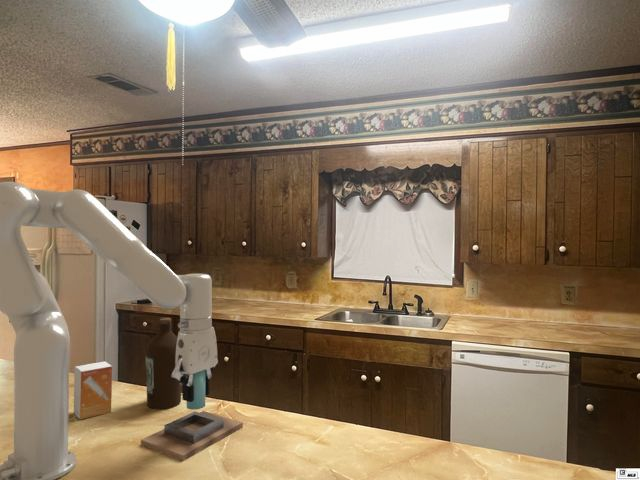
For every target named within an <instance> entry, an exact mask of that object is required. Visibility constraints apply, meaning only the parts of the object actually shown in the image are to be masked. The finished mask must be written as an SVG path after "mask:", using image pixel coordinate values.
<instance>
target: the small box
mask: <svg viewBox="0 0 640 480" xmlns="http://www.w3.org/2000/svg"><path fill="white" fill-rule="evenodd" d="M73 373H74V375H73V376H74V377H73V379H74V381H73V383H74V384H73V413H74V415H76V417H77V418H78V419H79V420H83V419H88V418H92V417H95V416H100V415H105V414H109V413H111V412H112V396H113V395H112V393H113V392H112V391H113V390H112V389H113V388H112V387H113V365H111V364H109V363H108V362H107V361H100V362H93V363H87V364H82V365H77V366H74V372H73Z"/></svg>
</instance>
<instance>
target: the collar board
mask: <svg viewBox="0 0 640 480" xmlns="http://www.w3.org/2000/svg"><path fill="white" fill-rule="evenodd" d="M243 423H244V422H242V421H239V420H236V419H233V418H229V417H225V416H223V415H218V414H215V413H212V412H209V411H206V410H202V411H200V412H198V411H196V410H195V411H192V412H191V413H189V414H186V415H184V416H182V417H179V418H178V419H175V420H173V421H171V422H168V423H166V424H164V425H163V426H164V427H163V428H162V429H161V430H159V431H157V432H154V433H152V434H149V435H148V436H146V437H143V438H141V439H140V445H141V446H143V447H146V448H148V449H150V450H153V451H156V452H159V453H161V454H164V455H167V456H169V457H172V458H174V459H177V460H180V461H182V462H183V461H185V460H187V459H189V458H191V457H193V456H194V455H196V454H197V453H200V452H201V451H203V450H205V449H206V448H208V447H210V446H212V445H214V444H215V443H217V442H218V441H220V440H222V439H225V438H226V437H227V436H230V435H231V434H232V433H235V432H237V431H238V430H239V429H242V428H243V427H244V426H243V425H244V424H243Z"/></svg>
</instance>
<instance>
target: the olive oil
mask: <svg viewBox="0 0 640 480" xmlns="http://www.w3.org/2000/svg"><path fill="white" fill-rule="evenodd" d="M158 330H159V331H158V333H156V335H155V336H154V337H152V338H151V340H150V341H149V342H148V344H147V346H146V349H145V356H144V358H145V372H146V373H145V376H146V379H145V380H146V406H147V407H148V408H150V409H152V410H167V409H170V408H174V407H176V406H178V405H180V404H181V402H182V384H180V382H179V381H178V380H177V379H175V378H173V377H172V376H171V375H172V373H173V371H174V369H175V366H176V363H175V359H176V345H177V338H178V335H176V334H175V333H173V331H172V318H171V317H160V318H159V323H158ZM181 374H182V372H181Z"/></svg>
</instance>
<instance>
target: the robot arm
mask: <svg viewBox="0 0 640 480" xmlns="http://www.w3.org/2000/svg"><path fill="white" fill-rule="evenodd" d="M22 227H36V228H37V227H38V228H51V229H68V230H69V231H70V232H71V233H72V234H74V235H75V236H76V237H77V239H79V240H80V241H81V242H82V243H83V244H84V245H86V246H87V247H88V248H89V249H90V250H91V251H92V252H93V253H94V254H96V256H98V257H99V258H100V259H101V260H102V261H103V262H104V263H105V264H106V265H108V266H109V267H110V268H111V269H113V270H115V271H117V272H118V273H120V274H122V275H123V276H124V277H125V278H126V279H128V280H129V282H131V283H132V284H133V285H134V286H135V287H137V288H138V290H140V291H141V292H142V293H144V294H145V296H146V298H147V299H148V300H149V301H150V302H151V303H152V304H154V305H156V306H157V307H158V308H161V309H163V310H174V309H177V308H179V309H180V310H179V311H180V313H179V318H180V319H179V323H177V327H178V329H179V331H178V334H177V337H178V338H177V345H176V359H175V363H176V366H175V369H174V371H173V373H172V375H171V376H172V377H173V378H175V379H177V380H178V381H179V382H180V384H182V387H181V400H183V401H185V402H187V401H188V402H193V400H194V386H193V385H191V384H192V379H193V374H195V373H198V372H201V371H203V370H205V396H208V395H209V394H210V379H211V378H212V372H214V370H215V368H216V366H217V365H218V363H219V360H218V345H217V336H216V331H215V327H214V326H213V320H212V318H213V314H212V313H213V308H212V307H213V305H212V303H213V300H212V299H213V297H212V296H213V291H212V290H213V281H212V280H213V279H212V277H211V275H209V274H207V273H188V274H187V273H186V274H176V273H175V272H174V271H173V270H172V269H171V268H170V267H169V266H168V265H167V264H166V263H165V262H163V261H162V260H161V259H160V258H159V257H158V256H157V255H156V254H155V253H153V251H152V250H150V249H149V248H148V247H147V246H146V245H145V244H144V243H143V242H142V241H141V240H140V239H139V238H138V237H137V236H136V235H135V234H134V233H132V231H130V230H129V229H128V227H126V226H125V225H124V224H123V223H122V222H121V221H120V220H119V219H118V218H117V217H116V216H115V215H114V214H113V213H112V212H111V211H110V210H109V209H108V208H107V207H106V206H105V205H103V204H102V202H100V201H99V199H97V198H96V197H95V196H94V195H93V194H91V193H90V192H88V191H86V190H84V189H77V188H75V189H70V190H67V191H59V190H58V191H56V190H44V189H39V188H38V189H36V188H30V187H28V186H26V185H24V184H23V183H22V184H21V183H20V182H16V181H3V182H0V312H1V313H2V314H4V315H6V316H7V319H8V320H9V322H10V324H11V326H12V329H13V330H14V332H15V334H16V337H15V340H14V341H15V342H14V345H13V346H14V347H13V369H14V370H13V371H14V372H13V373H14V375H13V376H14V383H13V385H14V388H13V389H14V392H13V393H14V399H13V400H14V404H13V405H14V406H13V407H14V408H13V409H14V412H13V414H14V415H13V416H14V418H13V420H14V421H13V425H14V426H13V453H10V454H8V455H7V460H6V461H3V462H2V464H0V480H57V479H58V478H61V477H63V476H65V475H66V474H67V473H69V472H70V471H71V470H73V469H74V467H75V466H76V464H77V456H76V454H75V452H74V453H73V451H69V407H70V404H69V399H70V391H69V390H70V389H69V388H70V386H69V385H70V382H69V381H70V356H71V338H70V331H69V325H68V324H67V321H66V319H65V316H64V315H63V312H62V310H61V308H60V305H59V304H58V302H57V299H56V298H55V295H54V293H53V290H52V288H51V287H50V284H49V281H48V280H47V278H46V277H45V276H44V275H43V274H41V273H40V272H39V271H38V270H37V268H36V266H35V264H34V262H33V260H32V258H31V256H30V253H29V250H28V248H27V245H26V244H25V243H26V242H24V239H23V237H22V234H21V232H22V231H21V229H22ZM181 372H182V374H181ZM187 375H188V378H187Z"/></svg>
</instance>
